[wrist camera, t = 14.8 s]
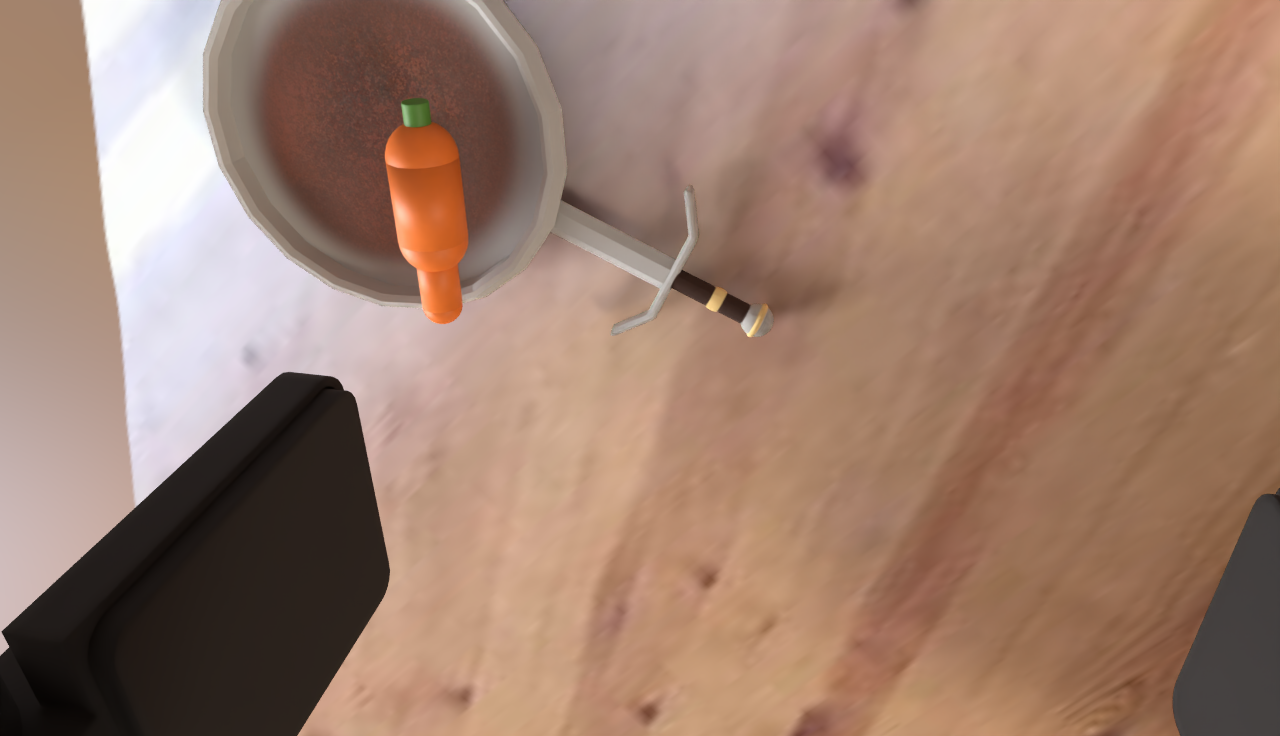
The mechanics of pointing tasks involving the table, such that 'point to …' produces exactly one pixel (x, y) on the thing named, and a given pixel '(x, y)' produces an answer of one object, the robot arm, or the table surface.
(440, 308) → the carrot
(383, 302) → the frying pan
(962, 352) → the table surface
